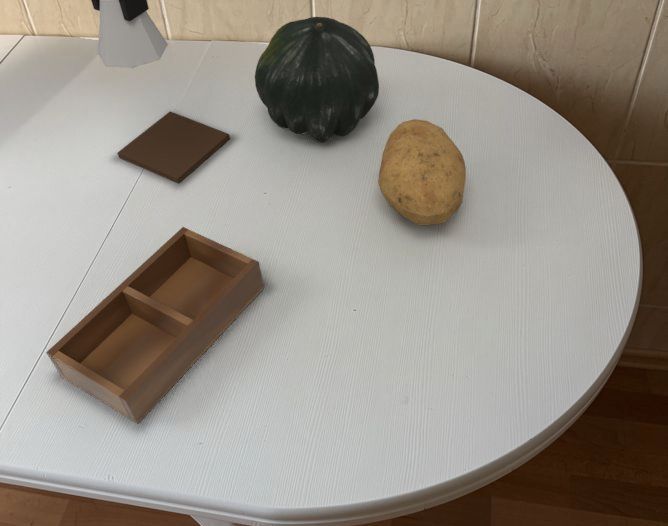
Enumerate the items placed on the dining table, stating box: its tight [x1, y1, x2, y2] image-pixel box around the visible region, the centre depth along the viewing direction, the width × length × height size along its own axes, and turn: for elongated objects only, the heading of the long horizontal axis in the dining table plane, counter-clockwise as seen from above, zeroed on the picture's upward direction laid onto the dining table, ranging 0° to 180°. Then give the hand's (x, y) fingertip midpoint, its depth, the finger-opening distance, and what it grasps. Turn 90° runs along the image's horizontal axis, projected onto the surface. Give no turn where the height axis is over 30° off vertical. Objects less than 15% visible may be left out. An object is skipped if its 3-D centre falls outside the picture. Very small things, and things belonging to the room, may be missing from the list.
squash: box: [254, 16, 380, 143], centre depth 86 cm, size 14×15×15 cm
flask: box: [97, 0, 169, 69], centre depth 69 cm, size 7×7×10 cm
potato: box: [377, 118, 467, 226], centre depth 77 cm, size 10×14×8 cm
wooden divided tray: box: [46, 226, 265, 425], centre depth 69 cm, size 10×19×4 cm, turn 147°
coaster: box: [117, 110, 231, 184], centre depth 88 cm, size 10×10×1 cm
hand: (121, 8), depth 70 cm, fingers closed on flask, 3 cm apart
